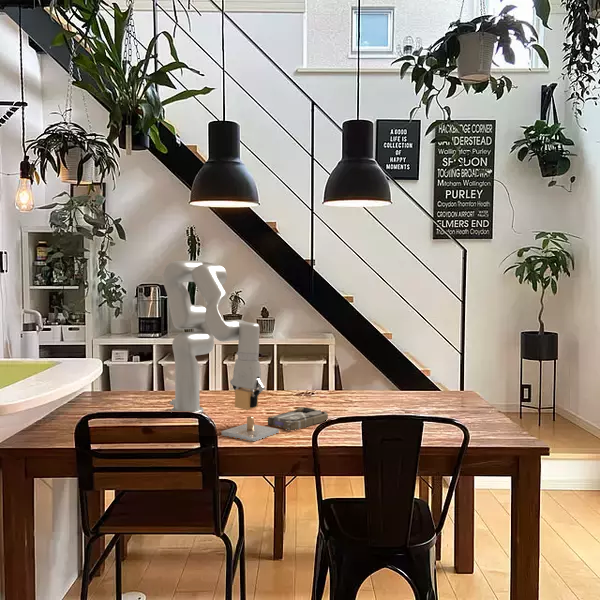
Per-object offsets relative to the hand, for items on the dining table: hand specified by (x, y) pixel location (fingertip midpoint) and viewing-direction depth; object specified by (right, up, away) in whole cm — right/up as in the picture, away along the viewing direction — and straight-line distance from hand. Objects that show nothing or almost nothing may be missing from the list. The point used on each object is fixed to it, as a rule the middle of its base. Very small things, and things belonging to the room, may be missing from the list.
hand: (246, 404), depth 243 cm
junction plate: (+3, -8, -14) cm, 16 cm away
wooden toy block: (0, -1, 0) cm, 1 cm away
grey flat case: (+19, -8, +5) cm, 21 cm away
